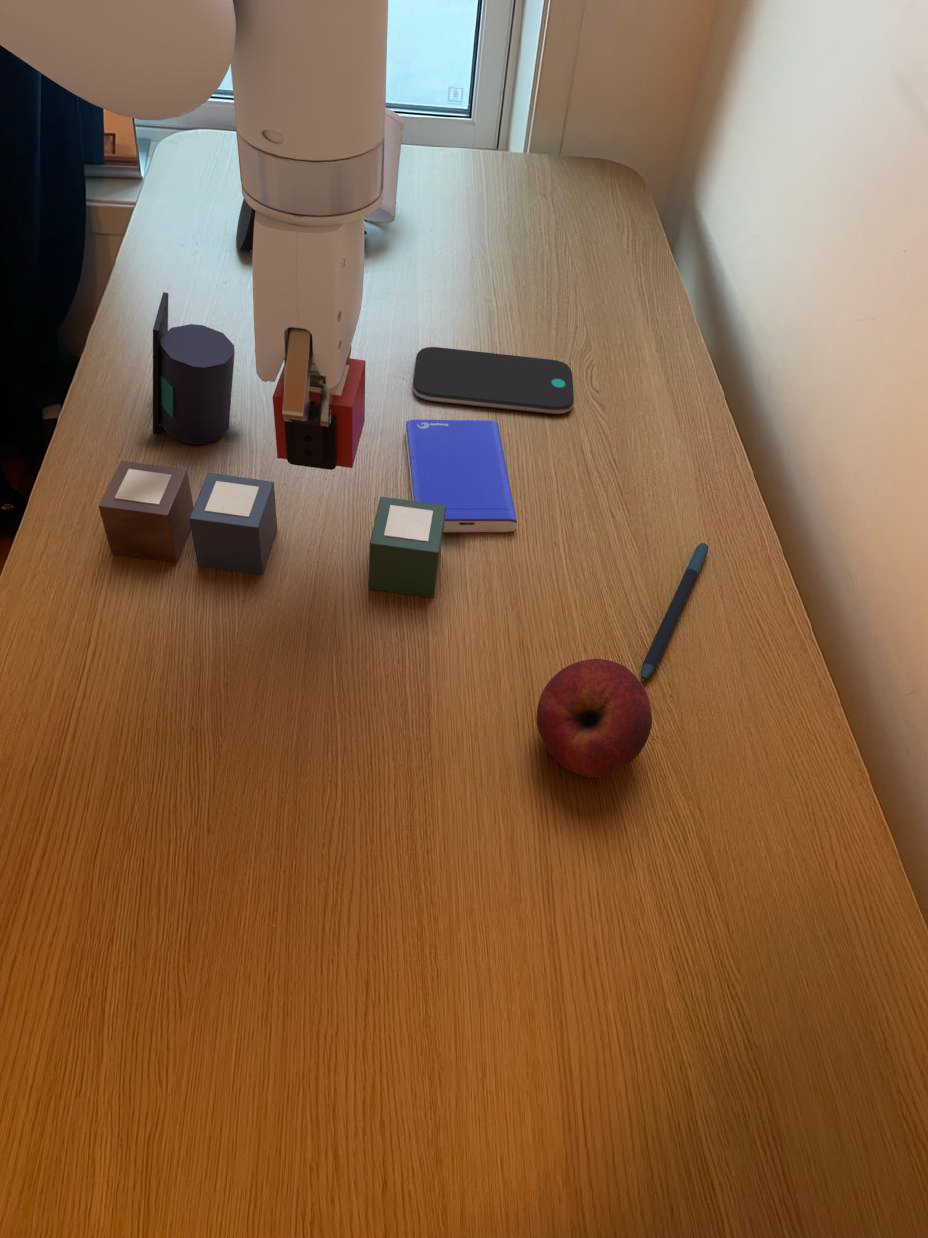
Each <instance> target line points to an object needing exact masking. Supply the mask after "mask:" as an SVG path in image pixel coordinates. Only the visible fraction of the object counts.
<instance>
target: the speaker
mask: <svg viewBox="0 0 928 1238" xmlns="http://www.w3.org/2000/svg"><path fill="white" fill-rule="evenodd" d="M235 351H236V349H235V345H234V344H233V343H232V341H231V340H230V339H229V337H227V336H226V334H225V333H224V332H222V331H219V330H216V329H214V328H211V327H209V326H206V325H203V324H194V323H189V324H184V325H179V326H175V327H173V326H172V327H171V328H169V292H166V291H163V292H162V295H161V299H160V302H159V306H158V309H157V313H156V317H155V320H154V324H153V327H152V434H155V435H158V434H159V430H160V425H161V426H162V428H163V429H164V430H165V432H166V433H167V434H168V436H169V437H171V438H174V439H176V440H179V441H181V442H184V443H187V444H189V445H204V444H208V443H212V442H215V441H219V440H221V439H222V438H223V436H224V435H225V434H226V433H227V431H228V430H229V428H230V416H231V406H232V405H231V404H232V393H233V392H232V391H233V379H234V367H235V353H236V352H235Z"/></svg>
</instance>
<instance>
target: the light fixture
mask: <svg viewBox="0 0 928 1238" xmlns="http://www.w3.org/2000/svg"><path fill="white" fill-rule="evenodd" d="M404 127H405V121H404V119H403V118H402V116H400V115H399V114H398V113H396V111H394V110H392V109H391V108H388V107H386V112H385V142H384V180H383V187H384V188H383V200H382V203H381V205H380V206H379V208H378V209H377V210H376V211H374V212H373V213H372V214H371V215H369V216H367V217H365V218H364V221H368V222H373V223H392V222H394V221H395V220H396V209H397V196H398V183H399V172H400V170H399V169H400V159H401V151H402V140H403V135H404V134H403V133H404ZM255 212H256V210H254V209H253V208H252V207H251V206H249V205H248V203H247V202H246V201H245V199H244V198H243V199H242V202H241V207H240V211H239V215H238V221H237V227H236V237H235V239H236V241H235V244H236V249H237V250H238V251H242V252H246V253H250V252H251V251H253V235H254V221H255ZM367 234H368V231H366V230H365V229H364V236H366V235H367Z"/></svg>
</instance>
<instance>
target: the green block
mask: <svg viewBox="0 0 928 1238" xmlns="http://www.w3.org/2000/svg"><path fill="white" fill-rule="evenodd" d="M445 512H446V506H445V505H439V504H431V503H424V502H417V501H412V500H408V499H401V498H394V497H387V496H380V497H379V501H378V505H377V509H376V514H375V518H374V522H373V527H372V531H371V536H370V540H369V554H368V555H369V558H368V590H372V591H380V592H386V593H387V592H388V593H394V594H403V595H409V596H410V595H411V596H417V597H425V598H431V599H434V598H435V593H436V587H437V580H438V575H439V567H440V561H441V560H440V559H441V555H442V554H441V553H442V546H443V537H444V532H443V529H444V521H445Z"/></svg>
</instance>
